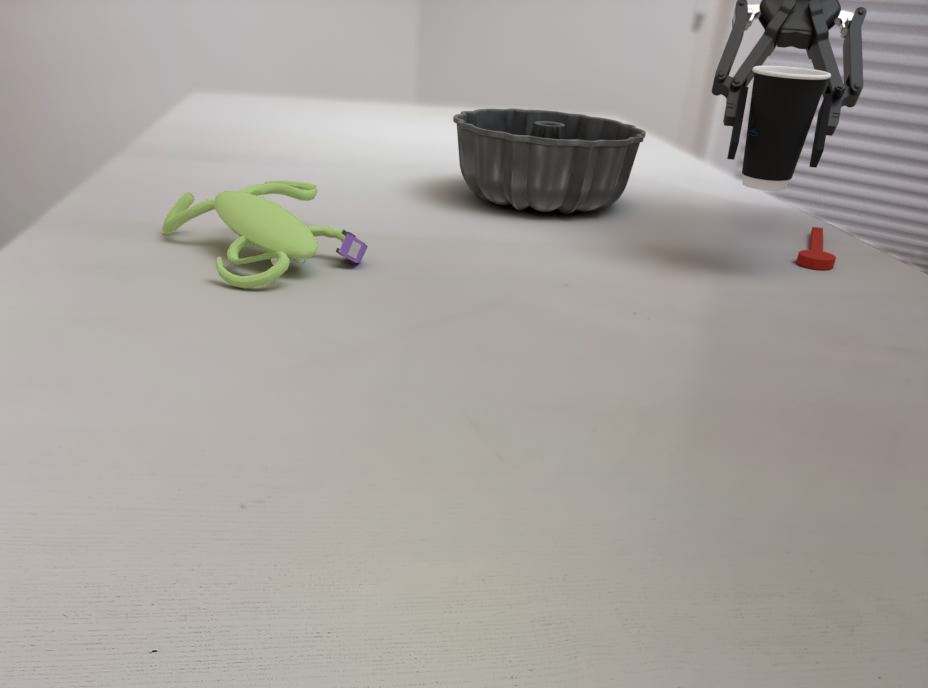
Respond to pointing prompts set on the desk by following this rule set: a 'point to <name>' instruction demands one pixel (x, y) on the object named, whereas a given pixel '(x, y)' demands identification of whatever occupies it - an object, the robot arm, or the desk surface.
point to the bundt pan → (545, 158)
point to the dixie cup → (779, 123)
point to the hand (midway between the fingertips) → (774, 154)
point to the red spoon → (816, 253)
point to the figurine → (264, 229)
